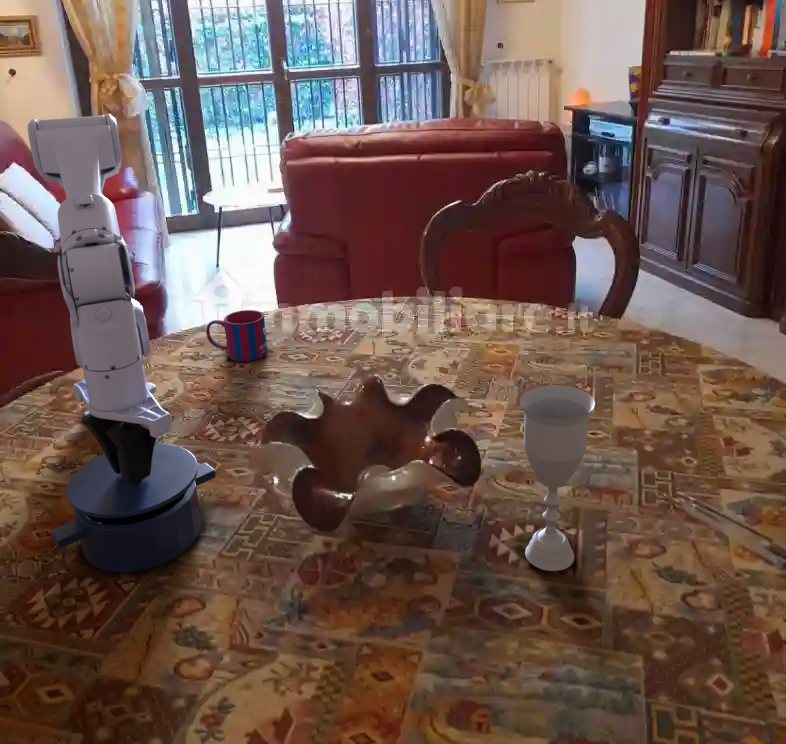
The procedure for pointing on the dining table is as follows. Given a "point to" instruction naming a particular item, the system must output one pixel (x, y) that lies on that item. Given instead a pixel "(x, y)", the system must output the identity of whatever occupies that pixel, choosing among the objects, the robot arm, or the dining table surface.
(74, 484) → the lid
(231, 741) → the dining table surface
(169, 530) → the pot
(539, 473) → the chalice
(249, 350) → the mug
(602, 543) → the dining table surface
